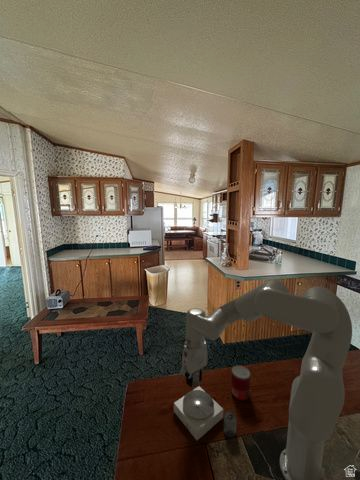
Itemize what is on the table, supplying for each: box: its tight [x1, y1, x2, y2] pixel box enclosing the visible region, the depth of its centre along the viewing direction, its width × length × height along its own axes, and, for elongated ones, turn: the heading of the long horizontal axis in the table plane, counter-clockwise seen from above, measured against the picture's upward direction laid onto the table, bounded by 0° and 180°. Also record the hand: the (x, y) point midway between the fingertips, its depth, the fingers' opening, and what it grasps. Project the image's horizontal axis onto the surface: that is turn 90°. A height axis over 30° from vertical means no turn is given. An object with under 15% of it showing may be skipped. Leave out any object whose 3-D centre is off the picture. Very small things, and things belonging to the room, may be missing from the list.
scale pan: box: [183, 389, 214, 420], centre depth 85 cm, size 12×12×1 cm
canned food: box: [230, 365, 251, 401], centre depth 95 cm, size 8×8×11 cm
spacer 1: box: [191, 369, 200, 388], centre depth 86 cm, size 4×4×6 cm
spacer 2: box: [223, 411, 237, 439], centre depth 79 cm, size 4×4×6 cm
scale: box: [173, 385, 224, 441], centre depth 85 cm, size 14×14×4 cm
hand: (193, 381), depth 86 cm, fingers closed on spacer 1, 4 cm apart
